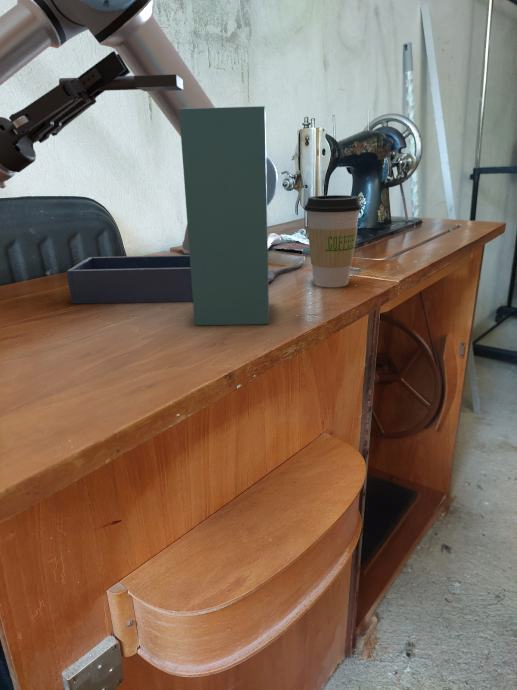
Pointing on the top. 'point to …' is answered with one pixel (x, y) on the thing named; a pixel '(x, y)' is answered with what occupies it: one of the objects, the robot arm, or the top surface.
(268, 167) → the robot arm
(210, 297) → the teal stand
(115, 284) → the tray
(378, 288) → the top surface
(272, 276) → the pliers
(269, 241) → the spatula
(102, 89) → the black spatula
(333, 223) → the coffee cup
